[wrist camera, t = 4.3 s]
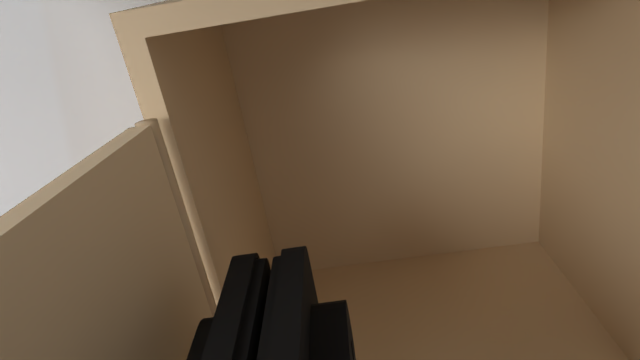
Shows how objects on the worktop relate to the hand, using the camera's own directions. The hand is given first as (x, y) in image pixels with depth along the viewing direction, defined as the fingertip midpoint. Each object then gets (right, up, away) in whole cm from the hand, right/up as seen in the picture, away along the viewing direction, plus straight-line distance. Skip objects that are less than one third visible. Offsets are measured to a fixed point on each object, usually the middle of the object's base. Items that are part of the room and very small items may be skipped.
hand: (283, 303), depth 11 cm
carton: (+4, +5, +9) cm, 11 cm away
